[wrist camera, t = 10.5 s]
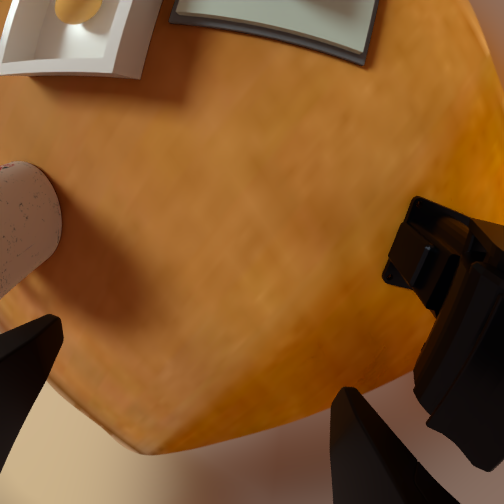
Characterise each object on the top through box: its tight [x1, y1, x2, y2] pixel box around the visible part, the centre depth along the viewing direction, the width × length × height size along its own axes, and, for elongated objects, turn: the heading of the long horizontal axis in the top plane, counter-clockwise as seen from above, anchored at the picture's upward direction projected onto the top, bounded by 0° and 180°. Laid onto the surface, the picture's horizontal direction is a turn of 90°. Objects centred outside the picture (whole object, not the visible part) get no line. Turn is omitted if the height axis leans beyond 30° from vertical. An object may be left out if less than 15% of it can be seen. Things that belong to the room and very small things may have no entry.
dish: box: [0, 0, 163, 79], centre depth 13 cm, size 10×10×4 cm
